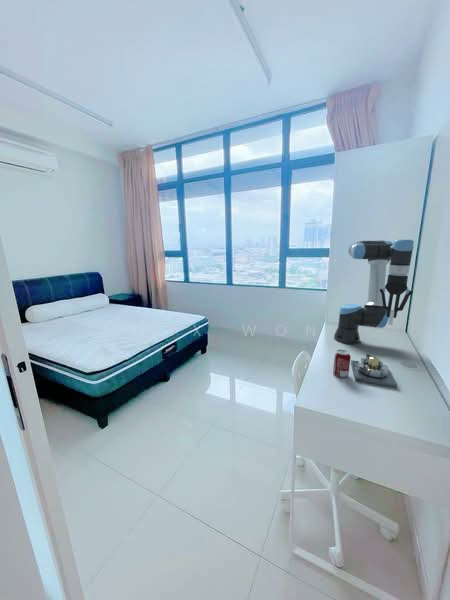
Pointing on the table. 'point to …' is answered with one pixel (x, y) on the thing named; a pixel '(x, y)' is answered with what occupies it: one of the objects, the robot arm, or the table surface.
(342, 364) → the soda can
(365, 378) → the base plate
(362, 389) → the table surface
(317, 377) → the table surface
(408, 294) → the robot arm
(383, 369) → the octagonal ring panel
